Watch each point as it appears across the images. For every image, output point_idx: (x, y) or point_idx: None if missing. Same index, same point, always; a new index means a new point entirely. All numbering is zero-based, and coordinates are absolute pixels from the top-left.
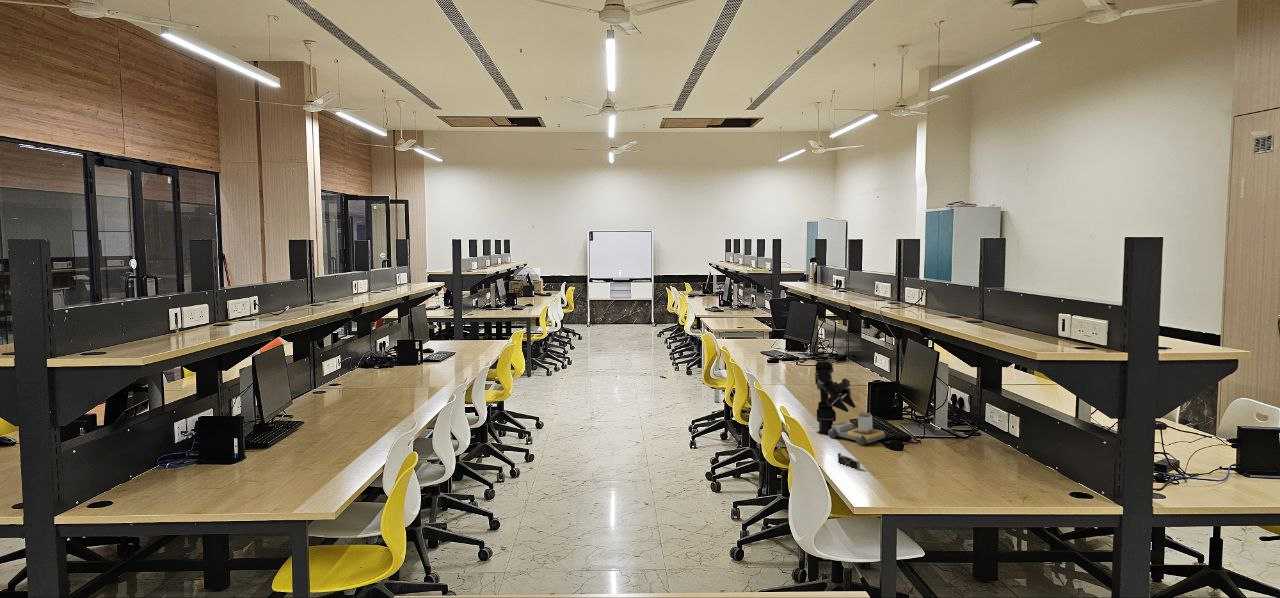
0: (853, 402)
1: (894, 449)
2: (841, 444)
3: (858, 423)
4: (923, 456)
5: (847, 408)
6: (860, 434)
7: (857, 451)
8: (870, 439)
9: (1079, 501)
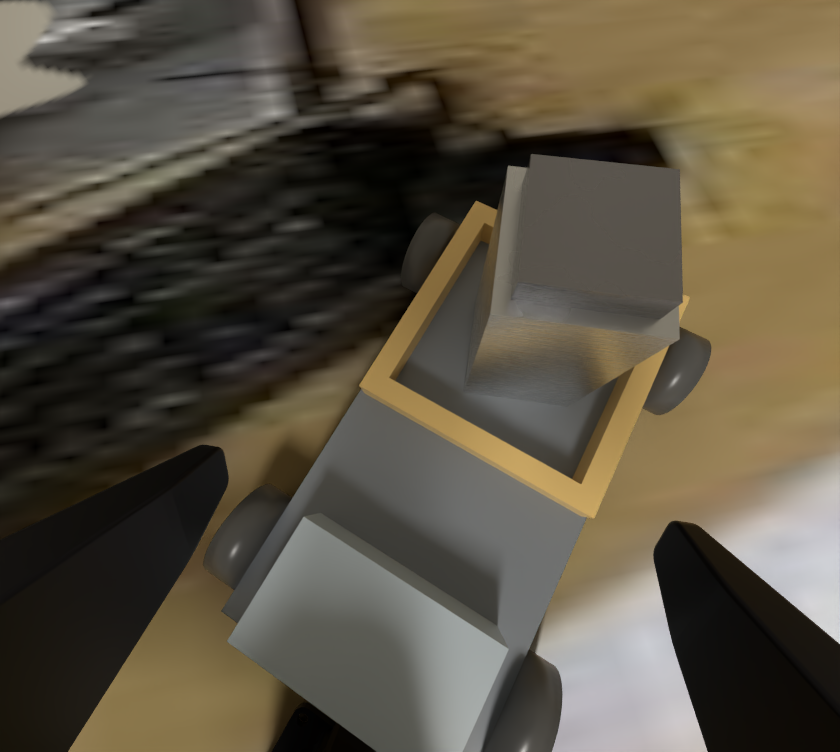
0: (89, 503)
1: None
2: None
3: (621, 369)
4: (719, 27)
5: (715, 567)
6: (653, 366)
7: (822, 377)
8: None
9: None
